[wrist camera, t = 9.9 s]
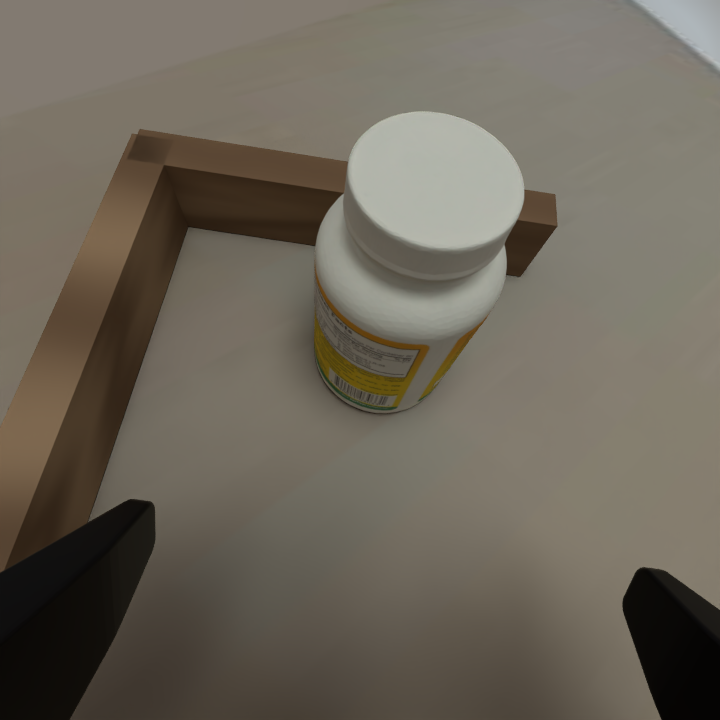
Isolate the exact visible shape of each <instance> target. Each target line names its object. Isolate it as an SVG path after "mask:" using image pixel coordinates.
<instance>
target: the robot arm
mask: <svg viewBox="0 0 720 720" xmlns="http://www.w3.org/2000/svg"><path fill="white" fill-rule="evenodd" d="M154 544H155V507H154V504H153V503H152V502H150V501H144V500H137V499H130V500H127V501H125V502H123V503H121V504H120V505H118V506H116V507H114V508H113V509H111V510H109V511H107V512H106V513H104V514H102V515H100V516H99V517H97V518H95V519H93V520H92V521H90V522H88V523H86V524H84V525H83V526H81V527H79V528H77V529H76V530H74V531H72V532H70V533H69V534H67V535H65V536H63V537H62V538H60V539H58V540H56V541H55V542H53V543H51V544H49V545H48V546H46V547H44V548H42V549H40V550H39V551H37V552H35V553H33V554H32V555H30V556H28V557H26V558H25V559H23V560H21V561H19V562H18V563H16V564H14V565H12V566H11V567H9V568H7V569H5V570H3V571H2V572H0V720H70V718H71V716H72V714H73V713H74V711H75V709H76V707H77V705H78V703H79V702H80V700H81V698H82V696H83V694H84V693H85V691H86V689H87V687H88V685H89V684H90V682H91V680H92V678H93V676H94V675H95V673H96V671H97V669H98V667H99V666H100V664H101V662H102V660H103V658H104V657H105V655H106V653H107V651H108V649H109V647H110V645H111V643H112V642H113V640H114V638H115V636H116V634H117V631H118V629H119V627H120V625H121V623H122V620H123V618H124V616H125V613H126V611H127V609H128V606H129V604H130V602H131V599H132V597H133V595H134V593H135V590H136V588H137V586H138V583H139V581H140V579H141V576H142V574H143V572H144V569H145V567H146V565H147V562H148V560H149V558H150V555H151V553H152V551H153V547H154ZM623 612H624V616H625V619H626V622H627V625H628V628H629V631H630V633H631V636H632V639H633V642H634V645H635V648H636V651H637V654H638V657H639V660H640V663H641V666H642V669H643V672H644V675H645V677H646V680H647V683H648V686H649V689H650V692H651V694H652V697H653V700H654V703H655V705H656V707H657V710H658V712H659V715H660V717H661V720H720V610H719V609H718V608H716V607H715V606H714V605H712V604H711V603H709V602H708V601H707V600H705V599H704V598H702V597H701V596H700V595H698V594H697V593H695V592H694V591H693V590H691V589H690V588H688V587H687V586H686V585H684V584H683V583H682V582H680V581H679V580H677V579H676V578H675V577H673V576H672V575H670V574H669V573H668V572H666V571H664V570H661V569H654V568H646V567H642V568H640V569H638V570H637V571H636V573H635V575H634V577H633V579H632V581H631V583H630V585H629V587H628V589H627V591H626V593H625V595H624V598H623Z"/></svg>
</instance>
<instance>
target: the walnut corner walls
mask: <svg viewBox="0 0 720 720" xmlns="http://www.w3.org/2000/svg"><path fill="white" fill-rule="evenodd" d="M347 165H348V162H346V161H340V160H333V159H327V158H321V157H314V156H308V155H301V154H295V153H289V152H282V151H276V150H270V149H263V148H257V147H251V146H244V145H238V144H231V143H225V142H219V141H212V140H206V139H200V138H193V137H187V136H181V135H174V134H168V133H162V132H155V131H149V130H142V129H140V130H139V132H138V134H132V135H131V137H130V140H129V142H128V144H127V146H126V149H125V151H124V153H123V155H122V158H121V160H120V162H119V164H118V166H117V169H116V171H115V173H114V175H113V178H112V180H111V182H110V184H109V186H108V189H107V191H106V193H105V195H104V198H103V200H102V202H101V204H100V207H99V209H98V211H97V213H96V215H95V218H94V220H93V222H92V224H91V227H90V229H89V231H88V233H87V235H86V238H85V240H84V242H83V244H82V247H81V249H80V251H79V253H78V256H77V258H76V260H75V262H74V264H73V267H72V269H71V271H70V273H69V276H68V278H67V280H66V282H65V284H64V287H63V289H62V291H61V293H60V296H59V298H58V300H57V302H56V304H55V307H54V309H53V311H52V313H51V316H50V318H49V320H48V322H47V325H46V327H45V329H44V331H43V333H42V336H41V338H40V340H39V342H38V345H37V347H36V349H35V351H34V353H33V356H32V358H31V360H30V362H29V365H28V367H27V369H26V371H25V374H24V376H23V378H22V380H21V382H20V385H19V387H18V389H17V391H16V394H15V396H14V398H13V400H12V402H11V405H10V407H9V409H8V411H7V414H6V416H5V418H4V420H3V423H2V425H1V427H0V572H2V571H3V570H5V569H7V568H9V567H11V566H12V565H14V564H16V563H18V562H19V561H21V560H23V559H25V558H26V557H28V556H30V555H32V554H33V553H35V552H37V551H39V550H40V549H42V548H44V547H46V546H48V545H49V544H51V543H53V542H55V541H56V540H58V539H60V538H62V537H63V536H65V535H67V534H69V533H70V532H72V531H74V530H76V529H77V528H79V527H81V526H83V525H84V524H86V523H87V522H88V519H89V516H90V513H91V510H92V507H93V504H94V501H95V498H96V495H97V493H98V490H99V487H100V484H101V481H102V478H103V475H104V472H105V469H106V466H107V463H108V460H109V457H110V454H111V451H112V448H113V446H114V443H115V440H116V437H117V434H118V431H119V428H120V425H121V422H122V419H123V416H124V413H125V410H126V407H127V404H128V402H129V399H130V396H131V393H132V390H133V387H134V384H135V381H136V378H137V375H138V372H139V369H140V366H141V363H142V360H143V357H144V355H145V352H146V349H147V346H148V343H149V340H150V337H151V334H152V331H153V328H154V325H155V322H156V319H157V316H158V313H159V310H160V308H161V305H162V302H163V299H164V296H165V293H166V290H167V287H168V284H169V281H170V278H171V275H172V272H173V269H174V266H175V263H176V261H177V258H178V255H179V252H180V249H181V246H182V243H183V240H184V237H185V234H186V231H187V228H188V226H189V227H196V228H203V229H209V230H216V231H222V232H229V233H236V234H242V235H249V236H255V237H262V238H269V239H275V240H282V241H288V242H295V243H302V244H308V245H315V246H316V239H317V235H318V231H319V228H320V225H321V223H322V221H323V219H324V217H325V215H326V214H327V212H328V210H329V209H330V208H331V206H332V205H333V204H334V203H335V202H336V200H337V199H338V198H339V197H340V196H341V195H343V194H344V191H345V182H346V172H347ZM556 227H557V212H556V198H555V194H549V193H543V192H537V191H530V190H524V203H523V206H522V209H521V212H520V215H519V217H518V219H517V221H516V223H515V225H514V226H513V228H512V230H511V232H510V234H509V235H508V237H507V239H506V241H505V244H504V245H505V250H506V257H507V269H506V274H507V275H513V276H520V277H521V275H522V274H523V272H524V271H525V270H526V268H527V267H528V266H529V264H530V263H531V262H532V260H533V259H534V257H535V256H536V255H537V253H538V252H539V251H540V249H541V248H542V246H543V245H544V244H545V242H546V241H547V240H548V238H549V237H550V235H551V234H552V233H553V231H554V230H555V229H556Z"/></svg>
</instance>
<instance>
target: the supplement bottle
mask: <svg viewBox="0 0 720 720" xmlns="http://www.w3.org/2000/svg"><path fill="white" fill-rule="evenodd" d="M523 203H524V184H523V178H522V175H521V171H520V169H519V167H518V165H517V163H516V161H515V159H514V158H513V156H512V155H511V154H510V152H509V151H508V150H507V148H506V147H505V146H504V145H503V144H502V143H501V142H500V141H498V140H497V139H496V138H495V137H494V136H493V135H491V134H490V133H489V132H487V131H486V130H484V129H483V128H481V127H480V126H478V125H476V124H474V123H472V122H469V121H467V120H465V119H462V118H459V117H456V116H452V115H448V114H444V113H435V112H421V111H419V112H410V113H403V114H399V115H395V116H392V117H389V118H387V119H384V120H382V121H380V122H378V123H376V124H375V125H374V126H372V127H371V128H369V129H368V130H367V131H366V132H365V133H364V134H363V135H362V136H361V137H360V138H359V139H358V141H357V142H356V144H355V145H354V147H353V149H352V151H351V154H350V156H349V159H348V165H347V172H346V182H345V191H344V194H343V195H341V196H340V197H339V198H338V199H337V200H336V202H335V203H334V204H333V205H332V206H331V208H330V209H329V210H328V212H327V214H326V215H325V217H324V219H323V221H322V223H321V225H320V228H319V231H318V235H317V239H316V246H315V281H314V282H315V329H314V350H315V359H316V363H317V367H318V369H319V372H320V374H321V376H322V378H323V380H324V382H325V383H326V384H327V386H328V387H329V388H330V389H331V390H332V391H333V392H334V393H335V394H336V395H337V396H338V397H339V398H340V399H342V400H343V401H345V402H346V403H348V404H350V405H352V406H354V407H356V408H358V409H361V410H364V411H368V412H374V413H392V412H398V411H402V410H405V409H408V408H411V407H412V406H414V405H416V404H418V403H419V402H421V401H422V400H424V399H425V398H426V397H427V396H428V395H429V394H430V393H431V392H432V391H433V390H434V388H435V387H436V386H437V385H438V383H439V382H440V380H441V379H442V378H443V376H444V375H445V374H446V372H447V371H448V369H449V368H450V367H451V365H452V364H453V362H454V361H455V360H456V358H457V357H458V355H459V354H460V353H461V351H462V350H463V349H464V347H465V346H466V344H467V343H468V342H469V340H470V339H471V338H472V336H473V335H474V334H475V332H476V331H477V330H478V328H479V327H480V326H481V325H482V324H483V322H484V321H485V319H486V318H487V316H488V315H489V313H490V312H491V310H492V309H493V307H494V305H495V304H496V302H497V300H498V298H499V296H500V294H501V291H502V288H503V286H504V281H505V277H506V269H507V257H506V250H505V245H504V244H505V241H506V239H507V237H508V235H509V234H510V232H511V230H512V228H513V226H514V225H515V223H516V221H517V219H518V217H519V215H520V212H521V209H522V206H523Z"/></svg>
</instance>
